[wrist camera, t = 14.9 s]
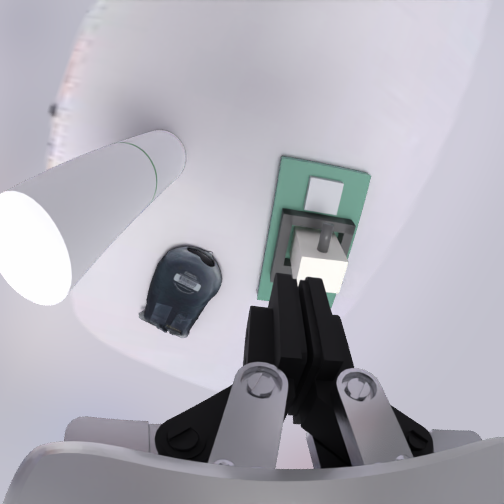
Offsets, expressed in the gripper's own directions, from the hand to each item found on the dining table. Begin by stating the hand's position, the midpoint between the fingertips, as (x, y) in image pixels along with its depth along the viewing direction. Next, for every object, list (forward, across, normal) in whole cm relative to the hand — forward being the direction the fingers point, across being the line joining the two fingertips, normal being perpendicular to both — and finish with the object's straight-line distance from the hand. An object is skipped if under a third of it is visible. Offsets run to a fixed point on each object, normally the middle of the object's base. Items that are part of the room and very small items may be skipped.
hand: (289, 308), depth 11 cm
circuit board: (+27, -6, +9) cm, 29 cm away
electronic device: (+28, +10, +20) cm, 36 cm away
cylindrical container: (+27, +14, +1) cm, 31 cm away
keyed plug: (+26, -6, +8) cm, 28 cm away
